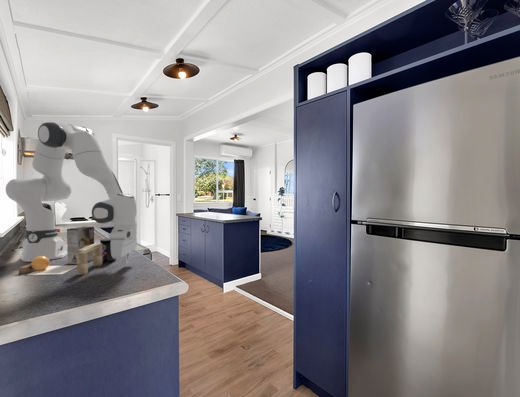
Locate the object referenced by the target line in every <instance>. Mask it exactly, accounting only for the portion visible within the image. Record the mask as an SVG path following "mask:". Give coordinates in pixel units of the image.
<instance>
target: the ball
mask: <svg viewBox="0 0 520 397" xmlns="http://www.w3.org/2000/svg"><path fill="white" fill-rule="evenodd" d="M30 264H31V266H32V268H33V269H34V270H33V271H41V270H44V269H46V268H47V267H48V266H50V264H51V262H50V260H49V259H48V258H47V257H45V256H38V257H36V258H34V259H33V261H32V262H31V263H30Z"/></svg>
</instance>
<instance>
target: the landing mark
mask: <svg viewBox="0 0 520 397" xmlns="http://www.w3.org/2000/svg"><path fill="white" fill-rule="evenodd" d="M74 269H77V264H73V265H72V264H70V265H69V264H68V265H49V266H48V267H47V268H46V269H44V270H41V271H37V270H33V271H31V272H29V273H26V276H49V275H50V276H51V275H52V276H53V275H57V276H58V275H64V274H66V273H68V272H70V271H72V270H74Z"/></svg>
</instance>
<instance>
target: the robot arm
mask: <svg viewBox="0 0 520 397" xmlns="http://www.w3.org/2000/svg"><path fill="white" fill-rule="evenodd" d="M37 136H38V137H37V138H38V142H37V143H36V146H35V150H34V154H33V158H32V162H31V165H32V166H31V167H32V168H33V169H34V171H36V172H38V173H39V174H41V175H43V176H42V177H41V178H38V177H37V178H35V177H23V178H22V177H21V178H12V179H11V180H9V181H8V182H7V183H6V186H5V193H6V196H7V197H8V198H9V199H10V200H12V201H13V202H15V203H17V204H18V205H19V206H20V207H21V209H22V210H23V212H24V216H25V225H26V226H25V229H26V230H25V232H24V238H25V240H24V241H23V243H22V253H21V256H20V257H19V260H22V262H26V263H27V262H31V263H32V261H33V259H34V258H36V257H38V256H45V257H47V258H48V259H49V261H50V260H56V259H63V258H64V257H66V256H68V254H67V243H66V242H67V241H65V240H63V239H62V238H61V237H60V236H58V235H59V233H61V231H62V230H61V228H56V214H55V212H54V211H53V210H51V209H49V208H46V207H44V205H43V202H57V201H62V200H66V199H68V198H69V197H70V196H71V194H72V186H71V184H70V183H69V181H67V180H66V179H65V178H64V176H63V173H62V170H63V164H64V160H65V156H66V153H67V152H66V151H67V150H71V153H72V157H73V159H74V163H75V165H76V168H77V169H78V171H79V173H81V174H82V175H84V176H86V177H87V178H91V179H92V180H95V181H97V183H100V184H101V186H102V187H103V188H104V190H105V191H106V194H107V196H108V199H105V200H103V201H99V202H96V203H95V204H94V205H93V207H92V208H91V217H92V218H93V220H94V221H95V222H96V223H98V224H101V225H102V224H103V225H104V224H113V228H112V230H111V232H110V233H109V237H108V238H110V239H111V256H112V258H116V259H121V265H127V264H129V262H130V261H129V260H130V255H131V252H133V251H134V250H135V249H137V246H138V239H137V237H138V236H137V234H138V232H137V230H138V229H137V228H138V227H137V221H136V218H137V210H138V209H137V202H136V198H135V196H133V195H132V194H129V193H124V192H123V190H122V188H121V186H120V184H119V182H118V179H117V177H116V176H115V173H114V172H113V170H112V169H111V168H110V166H109V165H108V163H107V161H106V158H105V157H104V154H103V151H102V149H101V146H100V143H99V142H98V140H97V138H96V136H95V133H94V131H92V130H91V129H90V128H88V127H85V126H79V125H75V124H70V123H60V122H59V123H58V122H57V123H56V122H50V121H49V122H42V123H41V124H40V125H39V127H38V130H37Z"/></svg>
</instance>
